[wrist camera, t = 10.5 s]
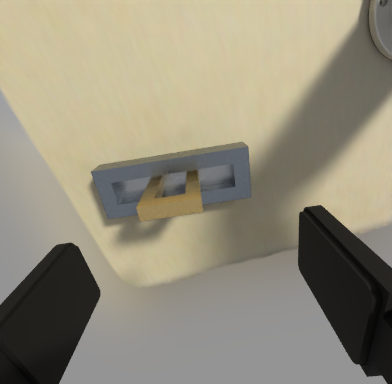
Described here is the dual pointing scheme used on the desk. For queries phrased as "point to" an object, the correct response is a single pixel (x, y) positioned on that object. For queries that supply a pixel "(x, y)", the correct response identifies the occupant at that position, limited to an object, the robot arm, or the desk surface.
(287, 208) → the desk surface
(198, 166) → the rail
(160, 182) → the wooden u-shaped block
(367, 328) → the robot arm
